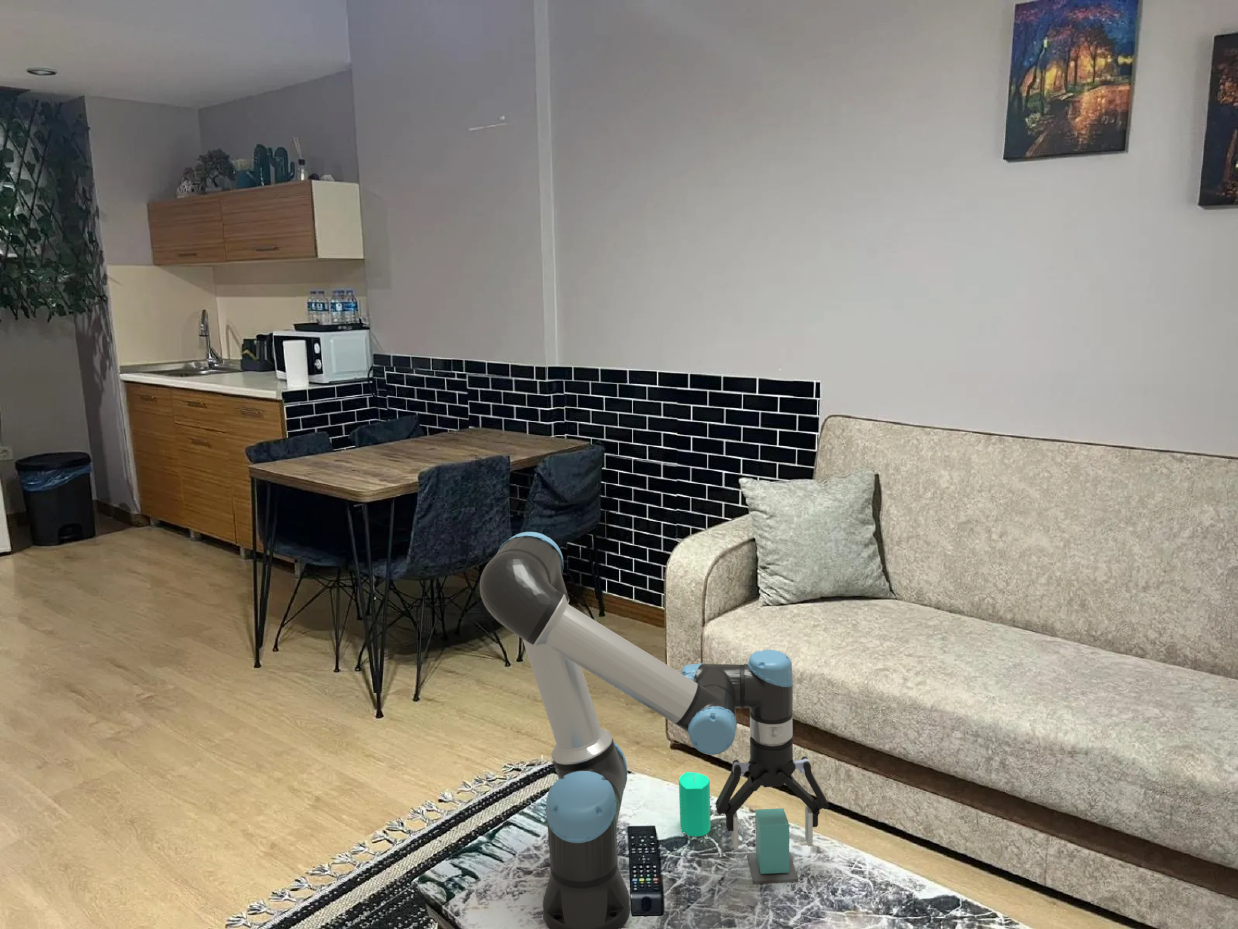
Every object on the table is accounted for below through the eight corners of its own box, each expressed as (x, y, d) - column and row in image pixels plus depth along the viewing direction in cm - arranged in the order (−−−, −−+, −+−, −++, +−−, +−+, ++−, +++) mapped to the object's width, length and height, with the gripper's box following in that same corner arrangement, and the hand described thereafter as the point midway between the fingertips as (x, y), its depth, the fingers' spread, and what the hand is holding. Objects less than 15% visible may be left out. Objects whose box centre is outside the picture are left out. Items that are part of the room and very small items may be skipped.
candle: (675, 824, 184) (673, 769, 181) (701, 816, 186) (699, 762, 183) (689, 840, 178) (688, 784, 176) (716, 831, 181) (715, 776, 178)
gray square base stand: (754, 884, 165) (753, 834, 163) (747, 856, 173) (746, 808, 170) (798, 882, 165) (798, 832, 163) (789, 854, 173) (789, 806, 171)
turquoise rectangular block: (760, 874, 166) (760, 826, 164) (755, 856, 171) (755, 809, 169) (789, 872, 166) (789, 825, 164) (783, 854, 171) (783, 808, 169)
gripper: (703, 750, 159) (706, 859, 164) (846, 744, 160) (845, 853, 164) (699, 729, 167) (701, 834, 171) (835, 723, 167) (834, 828, 171)
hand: (772, 843), depth 168 cm, fingers open, 13 cm apart
